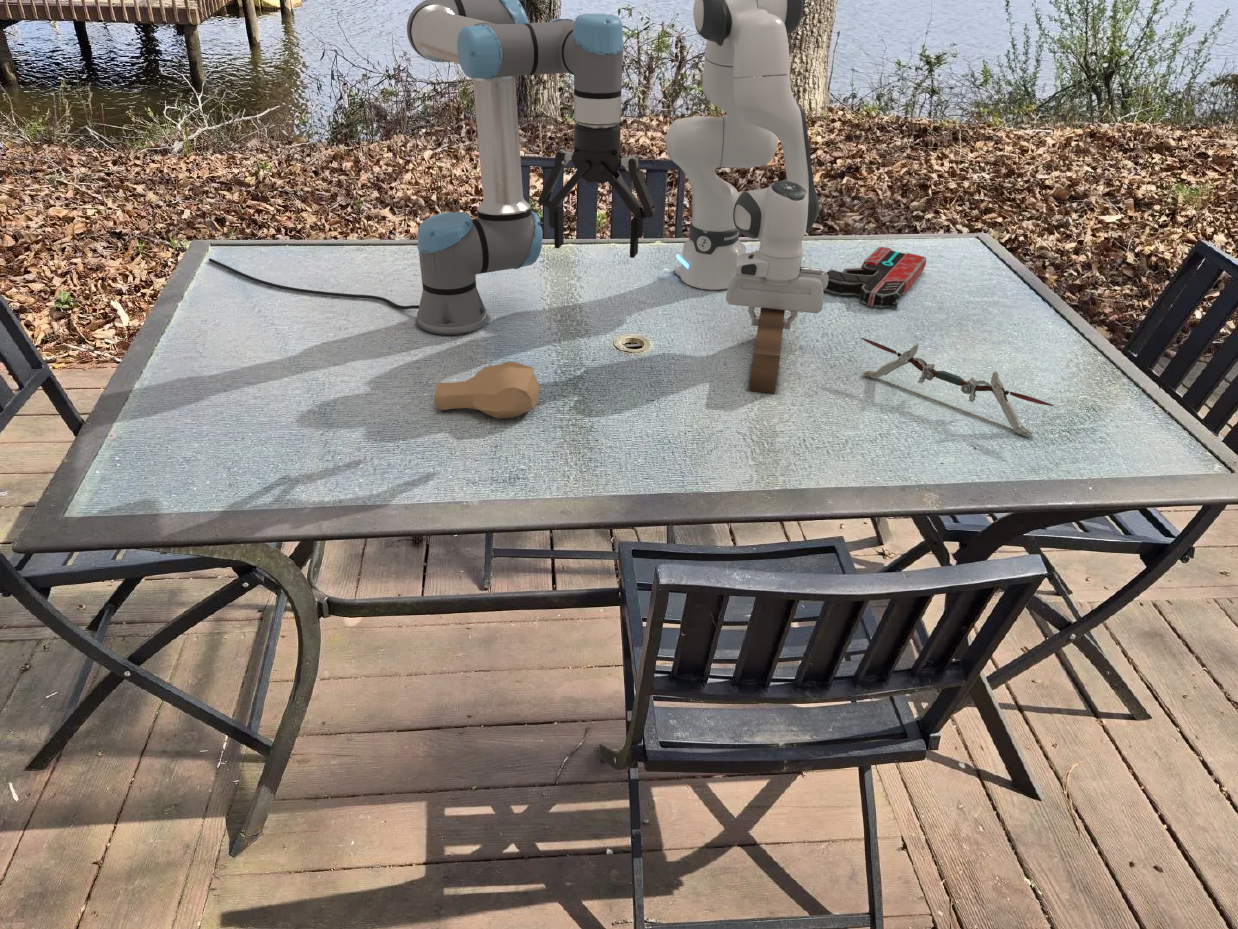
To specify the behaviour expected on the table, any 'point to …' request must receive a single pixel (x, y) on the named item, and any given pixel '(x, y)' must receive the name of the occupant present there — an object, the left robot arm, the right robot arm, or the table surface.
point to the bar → (767, 350)
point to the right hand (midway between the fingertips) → (770, 326)
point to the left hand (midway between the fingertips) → (596, 250)
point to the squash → (493, 391)
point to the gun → (878, 277)
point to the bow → (966, 388)
